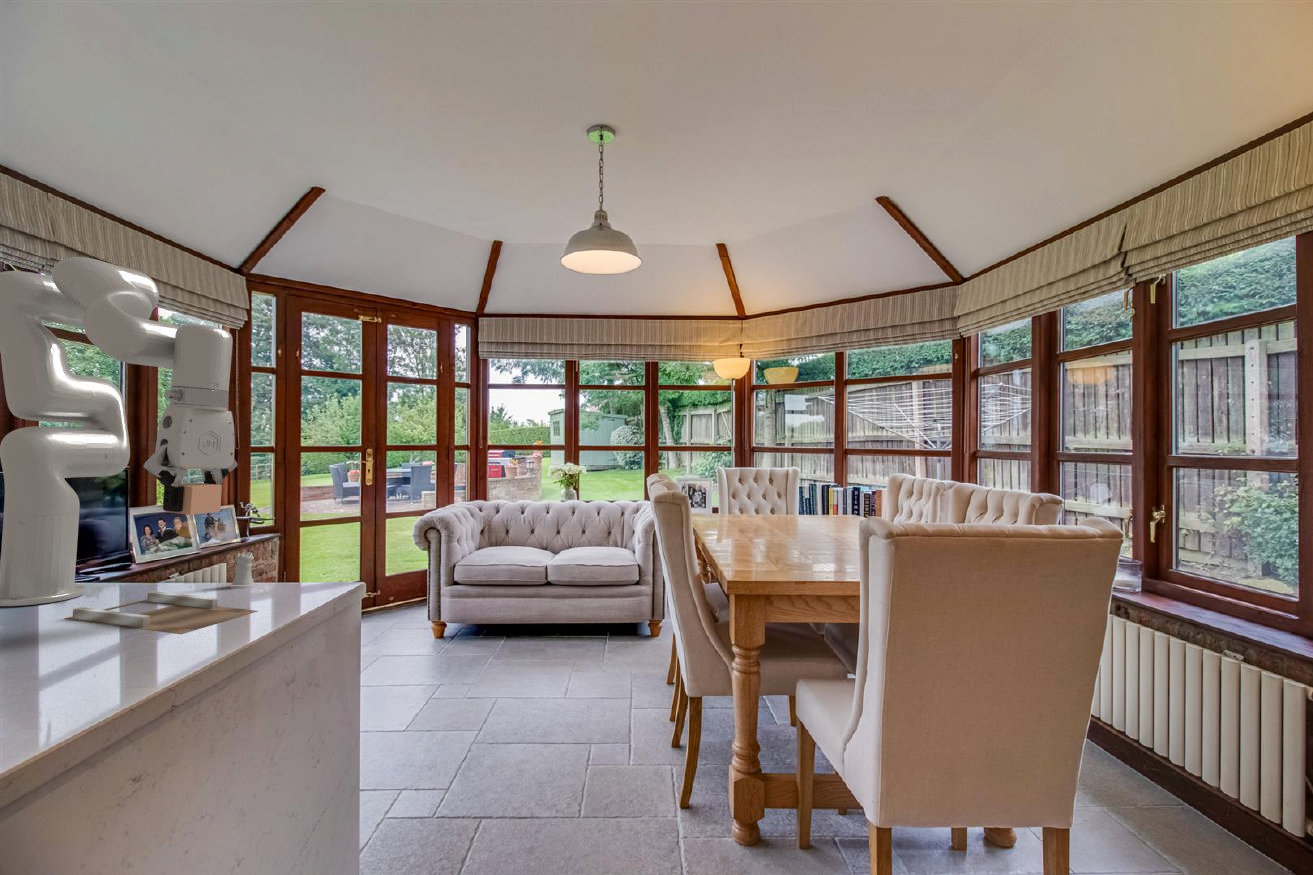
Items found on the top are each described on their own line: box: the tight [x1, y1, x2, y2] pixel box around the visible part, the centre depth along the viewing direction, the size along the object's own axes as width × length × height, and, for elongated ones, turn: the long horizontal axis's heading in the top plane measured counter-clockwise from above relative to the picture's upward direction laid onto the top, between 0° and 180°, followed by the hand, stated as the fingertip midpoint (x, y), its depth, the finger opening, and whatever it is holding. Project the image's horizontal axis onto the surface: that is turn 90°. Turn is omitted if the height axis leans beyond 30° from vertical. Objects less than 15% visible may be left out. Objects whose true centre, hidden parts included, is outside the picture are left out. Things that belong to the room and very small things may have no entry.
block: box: [164, 482, 223, 516], centre depth 94 cm, size 5×5×4 cm
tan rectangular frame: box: [63, 590, 259, 635], centre depth 94 cm, size 23×13×3 cm, turn 78°
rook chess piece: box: [229, 551, 257, 590], centre depth 114 cm, size 4×4×8 cm
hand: (190, 508), depth 94 cm, fingers closed on block, 4 cm apart
